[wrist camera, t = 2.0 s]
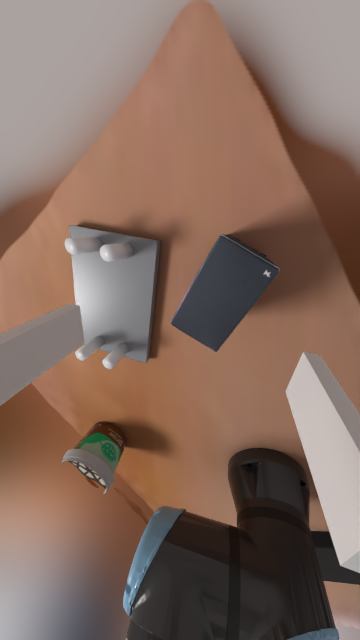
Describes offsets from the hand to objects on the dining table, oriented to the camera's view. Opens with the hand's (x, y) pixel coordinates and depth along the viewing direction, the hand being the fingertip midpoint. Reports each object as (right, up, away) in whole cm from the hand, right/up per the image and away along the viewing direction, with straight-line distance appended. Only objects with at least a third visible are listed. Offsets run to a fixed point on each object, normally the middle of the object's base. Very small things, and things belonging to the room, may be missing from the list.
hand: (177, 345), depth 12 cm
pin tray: (-11, +5, +22) cm, 25 cm away
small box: (+6, +8, +17) cm, 20 cm away
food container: (-16, -26, +37) cm, 48 cm away
